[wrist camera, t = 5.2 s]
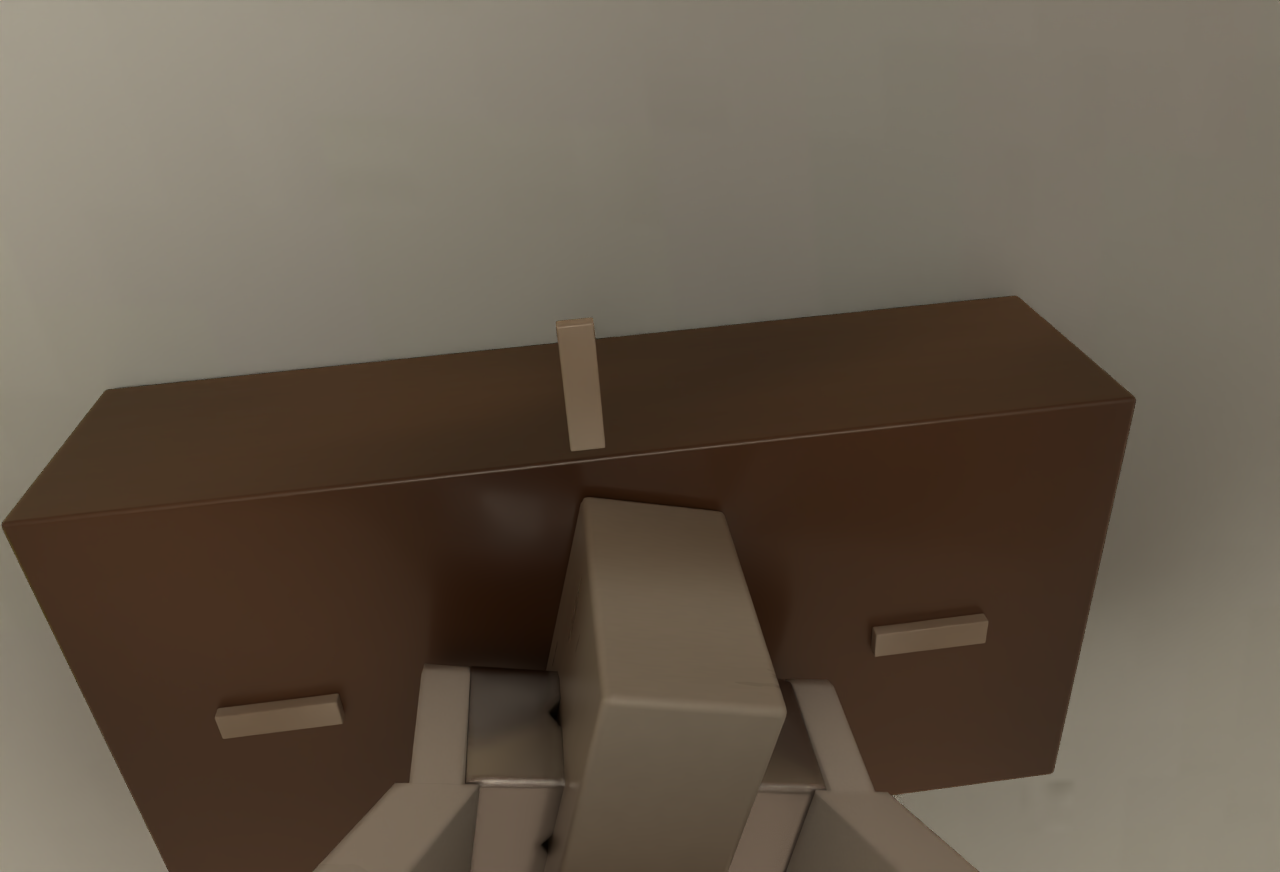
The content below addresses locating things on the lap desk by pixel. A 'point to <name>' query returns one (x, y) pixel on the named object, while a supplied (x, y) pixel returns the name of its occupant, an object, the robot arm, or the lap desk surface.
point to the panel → (570, 546)
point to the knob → (658, 693)
